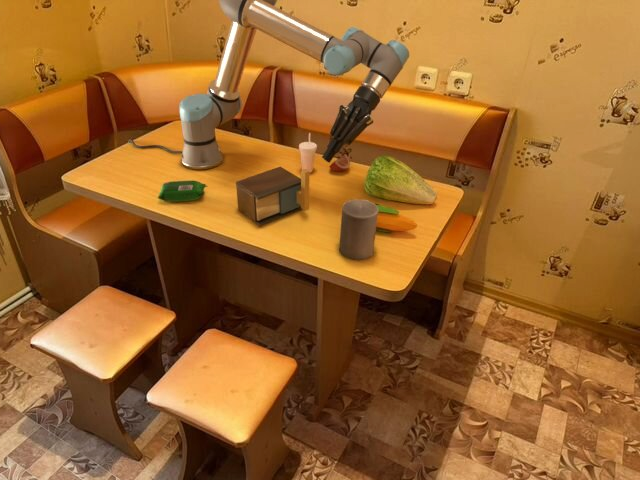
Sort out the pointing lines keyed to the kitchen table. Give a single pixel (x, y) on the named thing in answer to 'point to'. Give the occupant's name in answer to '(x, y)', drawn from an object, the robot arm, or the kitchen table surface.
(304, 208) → the sliding door
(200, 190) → the snack package
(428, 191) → the lettuce
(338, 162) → the fruit slice
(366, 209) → the pillar candle
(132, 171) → the kitchen table surface
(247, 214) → the box
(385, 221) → the corn
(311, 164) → the smoothie
